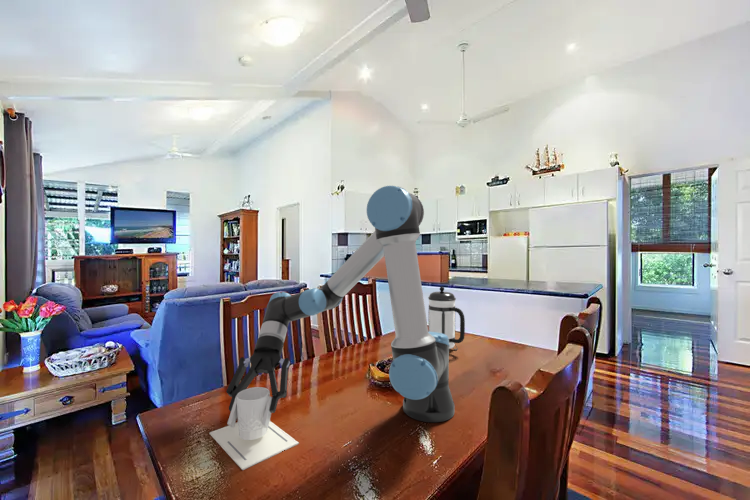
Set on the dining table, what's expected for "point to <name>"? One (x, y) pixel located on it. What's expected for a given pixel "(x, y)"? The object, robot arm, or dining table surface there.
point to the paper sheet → (252, 444)
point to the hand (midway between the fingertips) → (247, 425)
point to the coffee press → (445, 316)
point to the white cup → (252, 412)
